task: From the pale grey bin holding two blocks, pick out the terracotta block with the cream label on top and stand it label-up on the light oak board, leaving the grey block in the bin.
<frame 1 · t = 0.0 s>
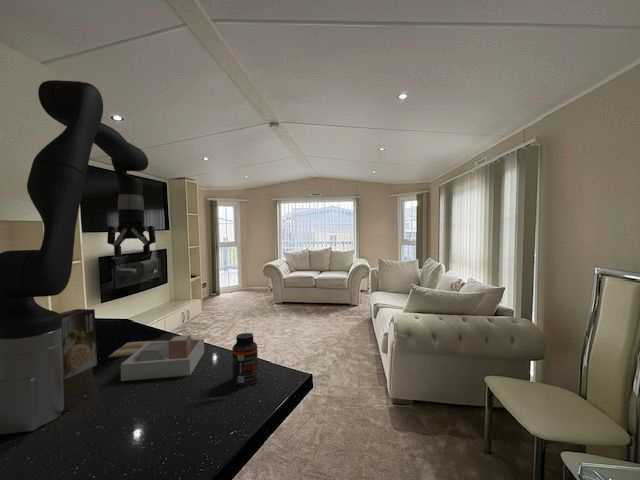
hand: (132, 256, 104), 29 cm above the countertop, tool pointing down, fingers open, 8 cm apart
labelled block: (180, 363, 84), point 1 cm above the countertop, touching bin
bin: (167, 367, 84), on the countertop
board: (139, 350, 97), on the countertop
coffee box: (71, 373, 81), on the countertop
supplement bottle: (245, 382, 74), on the countertop
plain block: (153, 365, 83), point 1 cm above the countertop, touching bin
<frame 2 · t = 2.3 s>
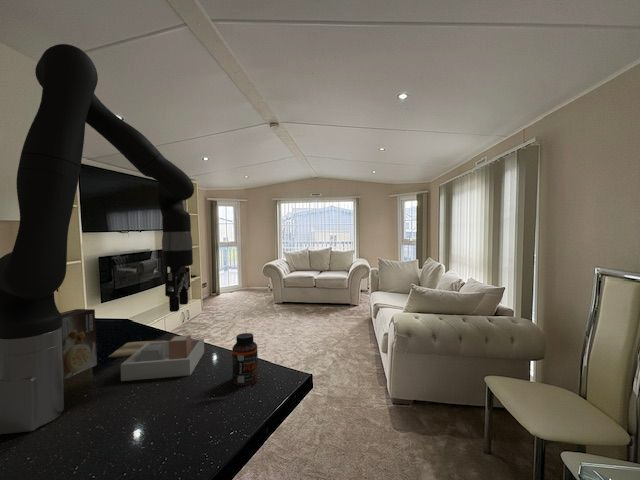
hand: (179, 307, 84), 16 cm above the countertop, tool pointing down, fingers open, 8 cm apart
nothing on the countertop moved.
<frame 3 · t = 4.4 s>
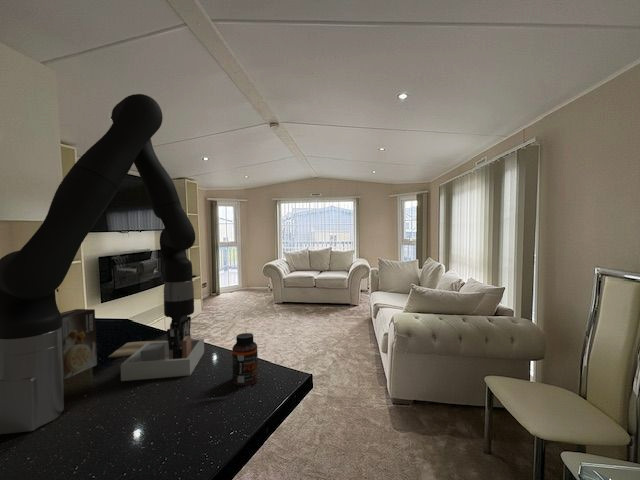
hand: (180, 358, 84), 2 cm above the countertop, tool pointing down, fingers closed on labelled block, 4 cm apart
labelled block: (180, 363, 84), point 1 cm above the countertop, touching bin, gripper
everything else where it was.
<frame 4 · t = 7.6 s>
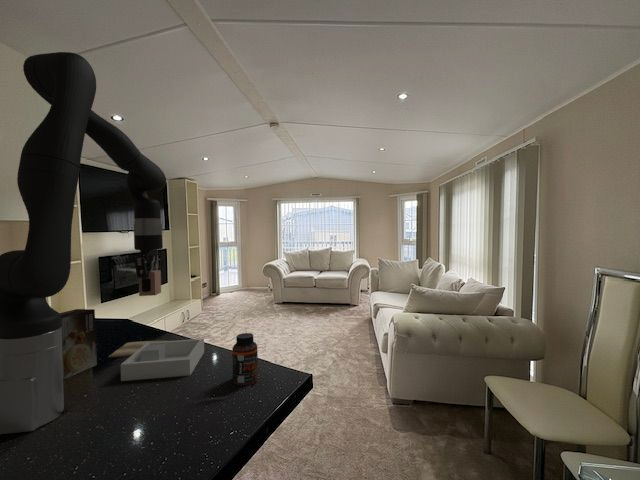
hand: (150, 289, 93), 20 cm above the countertop, tool pointing down, fingers closed on labelled block, 4 cm apart
labelled block: (150, 294, 93), point 18 cm above the countertop, touching gripper
everything else where it was.
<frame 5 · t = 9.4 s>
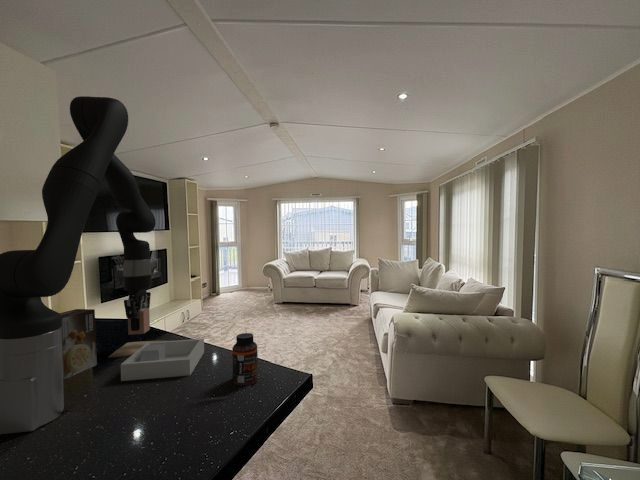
hand: (139, 327, 97), 7 cm above the countertop, tool pointing down, fingers closed on labelled block, 4 cm apart
labelled block: (139, 331, 97), point 6 cm above the countertop, touching gripper
everything else where it was.
when the fingers open (4 cm above the countertop, at t = 10.9 s): labelled block drops 1 cm, resting on board.
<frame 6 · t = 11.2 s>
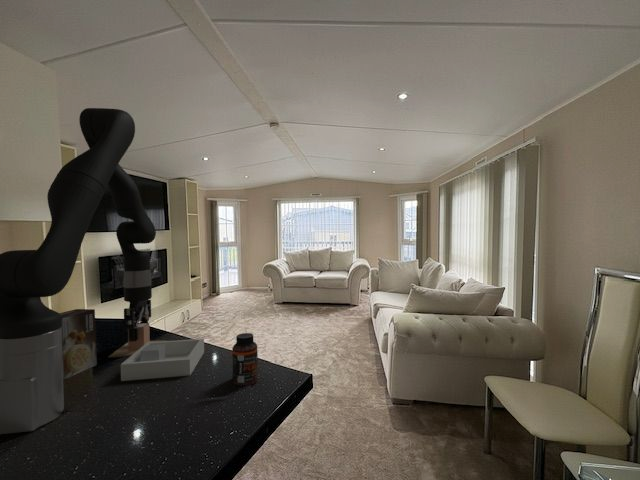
hand: (139, 336, 97), 4 cm above the countertop, tool pointing down, fingers open, 7 cm apart
labelled block: (139, 347, 96), point 1 cm above the countertop, touching board
everything else where it was.
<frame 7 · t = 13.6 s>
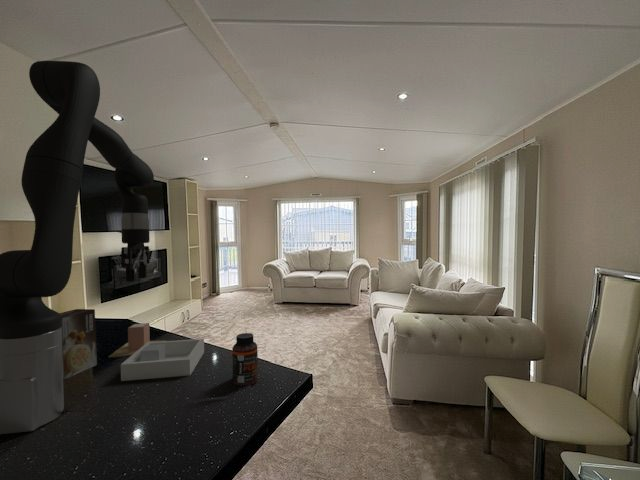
hand: (136, 279, 97), 22 cm above the countertop, tool pointing down, fingers open, 8 cm apart
nothing on the countertop moved.
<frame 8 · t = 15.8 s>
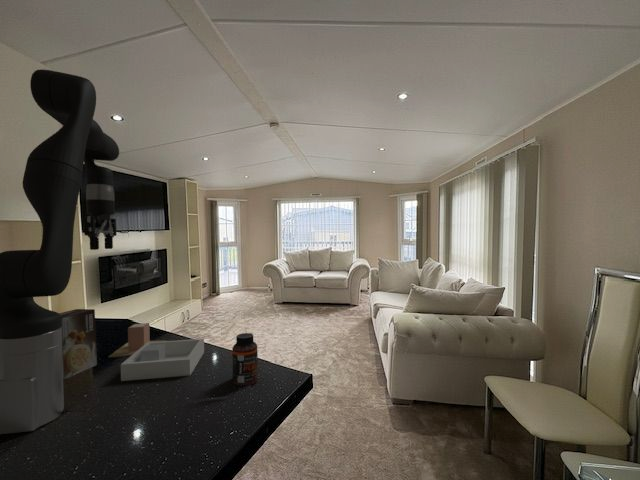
hand: (102, 249, 100), 32 cm above the countertop, tool pointing down, fingers open, 8 cm apart
nothing on the countertop moved.
at the end: labelled block inside the target area on the board (0.1 cm from its centre), point 1.0 cm above the board's base; labelled block tilted 0°; plain block moved 0.0 cm from its start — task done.
